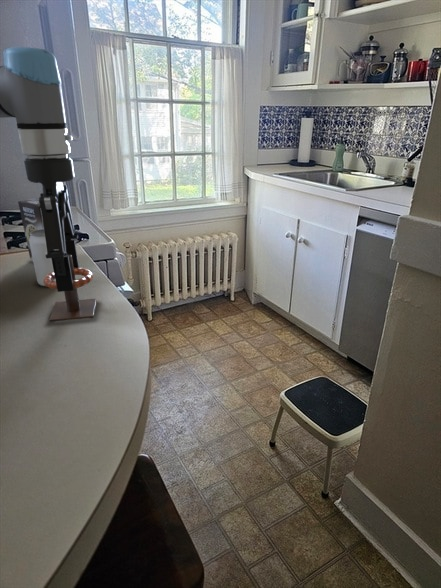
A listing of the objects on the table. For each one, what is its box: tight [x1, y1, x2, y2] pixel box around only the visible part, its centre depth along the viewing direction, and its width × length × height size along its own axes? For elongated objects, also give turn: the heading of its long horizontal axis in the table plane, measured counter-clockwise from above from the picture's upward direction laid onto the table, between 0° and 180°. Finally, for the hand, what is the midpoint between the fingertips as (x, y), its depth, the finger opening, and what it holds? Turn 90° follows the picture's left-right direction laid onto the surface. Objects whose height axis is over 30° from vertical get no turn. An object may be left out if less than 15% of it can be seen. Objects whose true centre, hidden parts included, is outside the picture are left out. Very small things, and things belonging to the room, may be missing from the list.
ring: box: [43, 267, 94, 290], centre depth 75 cm, size 9×9×1 cm
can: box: [29, 229, 56, 287], centre depth 90 cm, size 6×6×12 cm
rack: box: [48, 254, 98, 323], centre depth 76 cm, size 8×8×12 cm
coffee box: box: [17, 197, 44, 263], centre depth 102 cm, size 9×6×16 cm
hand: (69, 280), depth 75 cm, fingers closed on ring, 9 cm apart
